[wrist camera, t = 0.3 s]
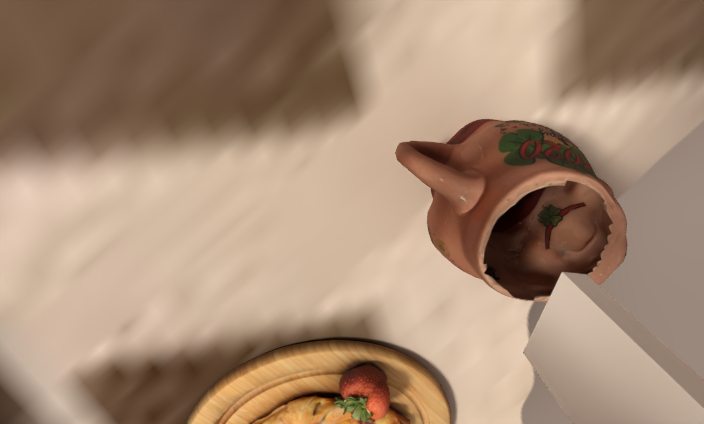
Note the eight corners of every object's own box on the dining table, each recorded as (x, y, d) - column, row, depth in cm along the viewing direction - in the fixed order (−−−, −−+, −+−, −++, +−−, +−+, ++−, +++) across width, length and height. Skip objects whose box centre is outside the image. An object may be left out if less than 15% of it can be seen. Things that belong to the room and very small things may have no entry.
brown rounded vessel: (339, 191, 40) (370, 279, 27) (396, 58, 35) (462, 92, 23) (516, 248, 46) (606, 341, 33) (583, 141, 41) (714, 202, 29)
